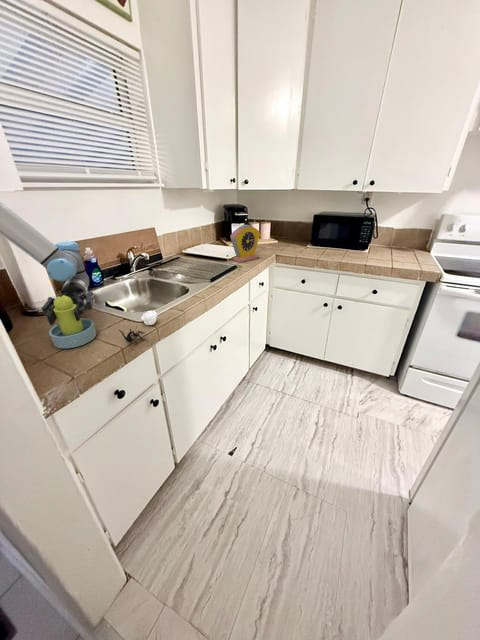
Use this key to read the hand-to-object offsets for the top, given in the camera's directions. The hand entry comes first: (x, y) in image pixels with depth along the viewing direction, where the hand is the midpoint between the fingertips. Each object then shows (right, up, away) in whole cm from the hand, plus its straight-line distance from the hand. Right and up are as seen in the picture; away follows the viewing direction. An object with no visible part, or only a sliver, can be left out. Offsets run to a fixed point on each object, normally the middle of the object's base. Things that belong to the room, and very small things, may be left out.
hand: (63, 318), depth 76 cm
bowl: (-2, -7, +9) cm, 11 cm away
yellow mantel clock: (+55, +40, +97) cm, 118 cm away
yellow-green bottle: (-2, -4, +7) cm, 8 cm away
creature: (+18, -7, +8) cm, 21 cm away
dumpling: (+19, -1, +19) cm, 27 cm away
